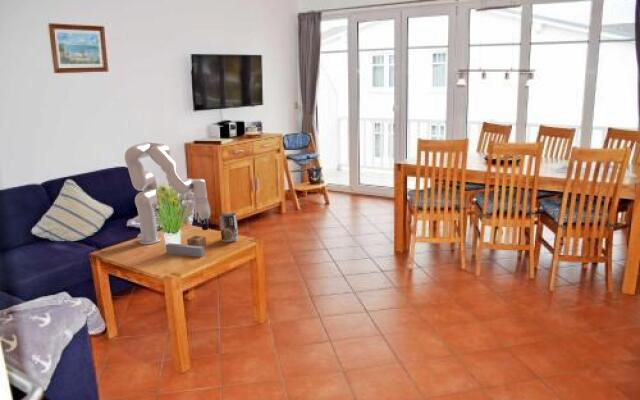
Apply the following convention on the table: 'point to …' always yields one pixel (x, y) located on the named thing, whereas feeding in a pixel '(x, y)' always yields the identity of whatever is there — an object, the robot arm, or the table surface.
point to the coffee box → (228, 227)
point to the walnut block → (197, 241)
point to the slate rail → (185, 250)
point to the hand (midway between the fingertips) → (205, 229)
